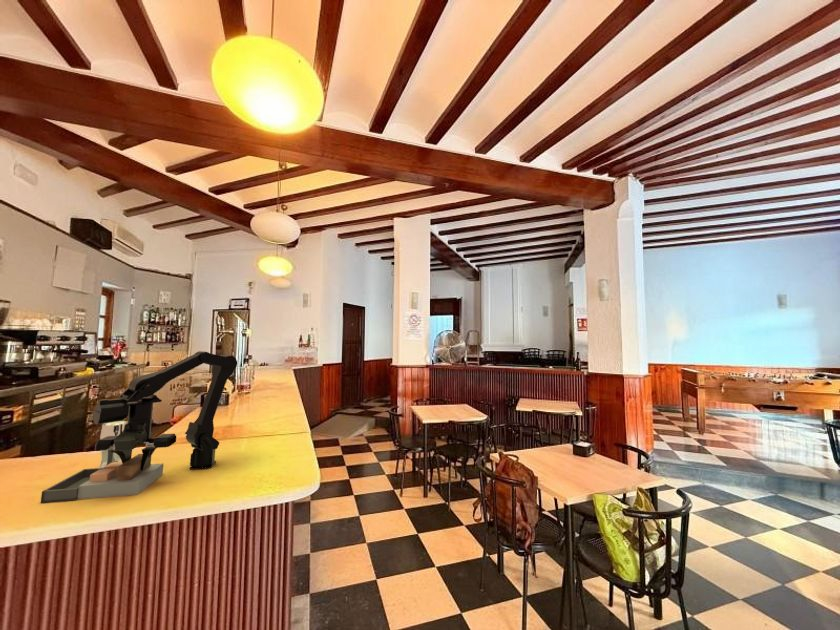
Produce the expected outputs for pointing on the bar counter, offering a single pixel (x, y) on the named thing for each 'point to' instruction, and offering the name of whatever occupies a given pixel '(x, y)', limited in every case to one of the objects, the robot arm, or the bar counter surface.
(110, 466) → the tile
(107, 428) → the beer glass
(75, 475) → the tray
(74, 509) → the bar counter surface
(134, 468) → the brown wooden plank
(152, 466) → the board
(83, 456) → the bar counter surface
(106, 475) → the tile
